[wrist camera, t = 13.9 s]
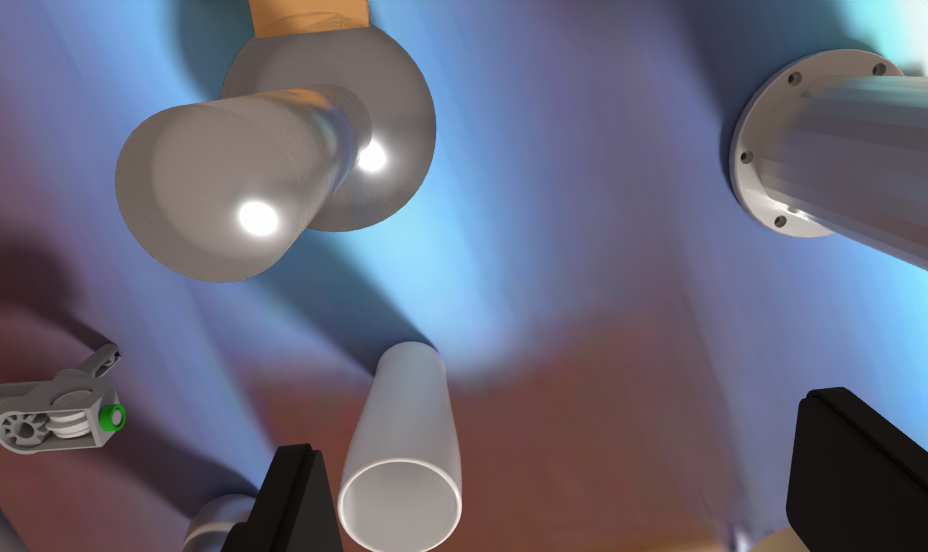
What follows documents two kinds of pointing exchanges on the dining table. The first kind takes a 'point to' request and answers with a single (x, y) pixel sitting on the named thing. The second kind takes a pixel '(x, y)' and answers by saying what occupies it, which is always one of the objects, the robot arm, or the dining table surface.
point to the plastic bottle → (216, 522)
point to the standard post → (279, 152)
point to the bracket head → (279, 3)
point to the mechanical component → (63, 408)
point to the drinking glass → (403, 457)
